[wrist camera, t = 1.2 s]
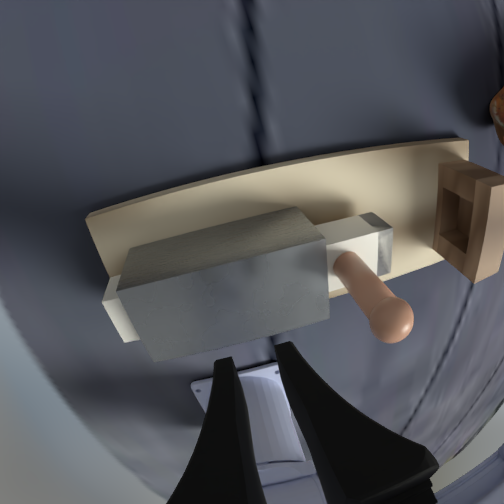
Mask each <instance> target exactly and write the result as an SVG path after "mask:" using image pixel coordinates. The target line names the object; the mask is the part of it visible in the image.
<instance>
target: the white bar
mask: <svg viewBox="0 0 504 504" xmlns="http://www.w3.org/2000/svg"><path fill="white" fill-rule="evenodd" d="M315 227H316V228H317V229H318V231H319V232H320V233H321V234H322V235H323V236H324V237H325V238H326V251H327V267H328V287H329V292H331V291H334V290H338V289H341V288H344V287H345V288H346V289H347V291H348V292H349V293H350V295H351V296H352V297H353V299H354V300H355V301H356V303H357V304H358V306H359V307H360V308H361V310H362V311H363V312H364V314H365V315H366V317H367V318H368V319H369V324H370V328H371V331H372V333H373V334H374V336H375V337H376V338H377V339H379V340H380V341H382V342H385V343H395V342H399V341H401V340H403V339H404V338H405V337H406V336H407V335H408V334H409V333H410V331H411V329H412V327H413V323H414V315H413V311H412V309H411V307H410V305H409V304H408V303H407V302H406V301H404V300H403V299H401V298H398V297H396V296H395V295H394V294H393V293H392V292H391V291H390V290H389V288H388V287H387V286H386V285H385V284H384V283H383V282H382V281H381V280H380V279H379V276H382V275H385V274H388V273H391V262H392V246H393V227H392V226H390V225H389V224H388V223H386V222H385V221H384V220H382V219H381V218H380V217H378V216H377V215H376V214H374V213H373V212H369V213H365V214H361V215H357V216H352V217H348V218H344V219H340V220H336V221H332V222H328V223H323V224H319V225H315ZM120 276H121V275H117V276H114V277H110V280H109V282H108V285H107V288H106V291H105V294H104V297H103V300H102V303H103V305H104V307H105V309H106V311H107V313H108V314H109V316H110V318H111V320H112V322H113V323H114V325H115V327H116V329H117V331H118V332H119V334H120V336H121V337H122V339H123V341H124V342H130V341H135V340H140V337H139V335H138V334H137V332H136V330H135V328H134V326H133V324H132V322H131V321H130V319H129V317H128V315H127V313H126V311H125V309H124V307H123V305H122V303H121V301H120V299H119V297H118V295H117V293H116V289H117V286H118V283H119V279H120Z"/></svg>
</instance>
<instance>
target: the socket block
mask: <svg viewBox="0 0 504 504" xmlns="http://www.w3.org/2000/svg"><path fill="white" fill-rule="evenodd" d="M432 249H433V250H434V251H435V252H437V253H438V254H439V255H440V256H442V257H443V258H444V259H445V260H447V261H448V262H449V263H450V264H451V265H453V266H454V267H455V268H456V269H457V270H459V271H460V272H461V273H462V274H463V275H464V276H466V277H467V278H468V279H469V280H470V281H471V282H473V283H474V284H475V283H477V282H479V281H481V280H483V279H485V278H487V277H489V276H491V275H493V274H494V273H496V272H498V270H499V266H500V262H501V258H502V254H503V250H504V176H502V175H500V174H498V173H495V172H493V171H491V170H489V169H486V168H484V167H482V166H479V165H477V164H474V163H472V162H469V161H467V160H458V161H451V162H444V163H438V191H437V207H436V219H435V230H434V239H433V247H432Z"/></svg>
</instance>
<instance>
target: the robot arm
mask: <svg viewBox="0 0 504 504" xmlns="http://www.w3.org/2000/svg"><path fill="white" fill-rule="evenodd" d="M274 347H275V352H276V358H277V362H274V363H270V364H266V365H263V366H259V367H255V368H251V369H247V370H243V371H239V372H237V370H236V367H235V365H234V362H233V359H232V357H227V358H223V359H219V360H216V361H215V362H214V372H213V378H208V379H204V380H199V381H194V382H192V383H191V389H192V391H193V393H194V394H195V396H196V398H197V400H198V401H199V403H200V405H201V406H202V408H203V410H204V412H205V413H206V415H205V418H204V422H203V426H202V429H201V432H200V435H199V438H198V441H197V444H196V446H195V449H194V452H193V454H192V456H191V459H190V461H189V463H188V466H187V468H186V470H185V472H184V474H183V476H182V478H181V479H180V481H179V483H178V485H177V487H176V489H175V490H174V492H173V494H172V495H171V497H170V499H169V500H168V502H167V503H166V504H504V444H503V445H502V446H501V447H500V448H499V449H498V450H497V451H496V452H495V453H493V454H492V455H491V456H490V457H488V458H487V459H486V460H484V461H483V462H482V463H480V464H479V465H478V466H476V467H475V468H473V469H472V470H470V471H469V472H468V473H466V474H465V475H463V476H462V477H460V478H459V479H457V480H456V481H454V482H452V483H451V484H450V485H448V486H446V487H444V488H443V489H441V490H439V491H438V492H436V493H433V491H432V489H431V487H432V483H431V481H430V479H429V478H430V477H431V476H432V475H433V474H434V473H435V472H436V471H437V470H438V468H439V464H438V462H437V460H436V459H435V457H434V456H433V455H432V454H431V452H430V451H429V450H428V449H427V448H426V447H425V446H423V445H421V444H418V443H416V442H413V441H411V440H409V439H407V438H404V437H402V436H400V435H398V434H396V433H394V432H392V431H391V430H389V429H387V428H385V427H384V426H382V425H380V424H379V423H377V422H375V421H374V420H372V419H370V418H369V417H367V416H366V415H364V414H363V413H362V412H360V411H359V410H357V409H356V408H355V407H353V406H352V405H351V404H350V403H348V402H347V401H346V400H345V399H343V398H342V397H341V396H340V395H339V394H338V393H336V392H335V391H334V390H333V389H332V388H331V387H330V386H329V385H328V384H327V383H326V382H325V381H324V380H323V379H322V378H321V377H320V376H319V375H318V374H317V373H316V372H315V371H314V370H313V369H312V367H311V366H310V365H309V364H308V363H307V362H306V360H305V359H304V358H303V357H302V355H301V354H300V353H299V351H298V350H297V348H296V347H295V346H294V344H293V342H290V341H288V342H285V343H281V344H278V345H274ZM289 404H290V406H291V409H292V411H293V413H294V416H295V418H296V420H297V422H298V425H299V427H300V429H301V431H302V433H303V436H304V438H305V440H306V442H307V445H308V447H309V450H310V453H311V456H312V459H313V462H314V465H315V468H316V470H315V469H314V466H313V463H312V461H311V460H310V461H306V460H305V457H304V454H303V451H302V448H301V445H300V442H299V439H298V436H297V433H296V430H295V427H294V424H293V421H292V418H291V412H290V406H289Z"/></svg>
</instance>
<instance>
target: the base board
mask: <svg viewBox="0 0 504 504" xmlns="http://www.w3.org/2000/svg"><path fill="white" fill-rule="evenodd" d="M468 155H469V140H466V139H463V138H447V139H436V140H425V141H415V142H406V143H398V144H390V145H382V146H374V147H367V148H360V149H354V150H347V151H341V152H335V153H329V154H323V155H317V156H312V157H306V158H301V159H295V160H290V161H285V162H280V163H275V164H270V165H265V166H261V167H256V168H252V169H247V170H243V171H238V172H234V173H229V174H225V175H221V176H217V177H213V178H209V179H205V180H201V181H197V182H193V183H189V184H185V185H182V186H178V187H174V188H170V189H167V190H163V191H160V192H156V193H153V194H149V195H146V196H142V197H139V198H136V199H132V200H129V201H126V202H122V203H119V204H116V205H113V206H110V207H106V208H103V209H100V210H97V211H94V212H91V213H89V215H88V216H87V217H86V219H85V221H86V223H87V226H88V228H89V231H90V233H91V236H92V238H93V241H94V243H95V245H96V248H97V250H98V252H99V255H100V257H101V259H102V262H103V264H104V266H105V268H106V270H107V273H108V275H109V277H114V276H117V275H121V273H122V270H123V267H124V264H125V261H126V258H127V255H128V252H129V249H130V248H132V247H136V246H140V245H143V244H147V243H151V242H154V241H158V240H162V239H166V238H169V237H173V236H177V235H181V234H185V233H188V232H192V231H196V230H200V229H204V228H208V227H212V226H216V225H220V224H224V223H228V222H232V221H236V220H240V219H244V218H248V217H252V216H256V215H261V214H265V213H269V212H273V211H278V210H282V209H286V208H290V207H295V206H297V207H298V208H299V210H300V211H301V212H302V213H303V214H304V215H305V216H306V217H307V218H308V219H309V221H310V222H311V223H312V224H313V225H314V226H315V225H319V224H323V223H328V222H332V221H336V220H340V219H344V218H348V217H352V216H357V215H361V214H365V213H369V212H373V213H374V214H376V215H377V216H378V217H380V218H381V219H382V220H384V221H385V222H386V223H388V224H389V225H390V226H392V227H393V246H392V262H391V273H388V274H385V275H382V276H379V279H380V280H381V281H382V282H383V281H385V280H388V279H391V278H394V277H397V276H400V275H403V274H406V273H409V272H412V271H414V270H417V269H420V268H423V267H425V266H428V265H431V264H434V263H436V262H439V261H442V260H444V258H443V257H442V256H440V255H439V254H438V253H437V252H435V251H434V250H433V249H432V247H433V239H434V230H435V219H436V207H437V191H438V163H444V162H451V161H458V160H467V161H468ZM345 293H349V292H348V291H347V289H346V288H345V287H344V288H341V289H338V290H334V291H331V292H329V298H333V297H336V296H339V295H342V294H345Z"/></svg>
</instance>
